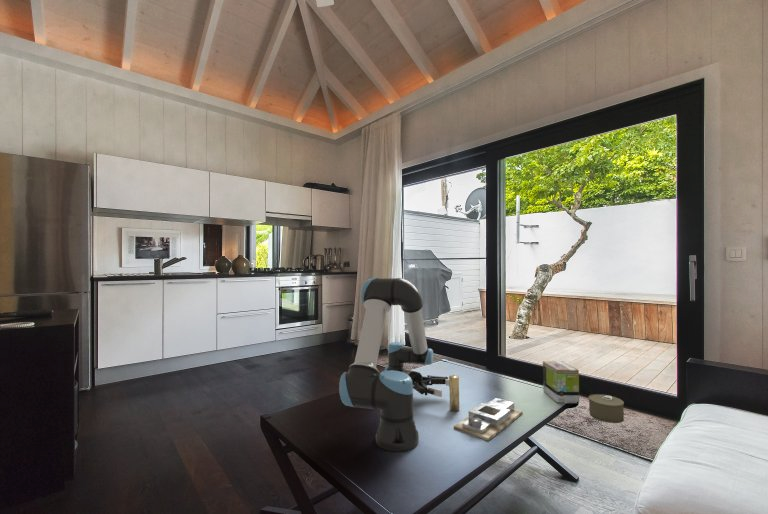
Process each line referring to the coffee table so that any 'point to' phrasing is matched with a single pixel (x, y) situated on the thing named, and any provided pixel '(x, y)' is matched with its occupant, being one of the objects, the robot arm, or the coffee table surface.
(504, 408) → the metal square socket
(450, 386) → the pin
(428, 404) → the coffee table surface
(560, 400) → the tea box
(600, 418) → the olive round block
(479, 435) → the joining board
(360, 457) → the coffee table surface
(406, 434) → the robot arm
